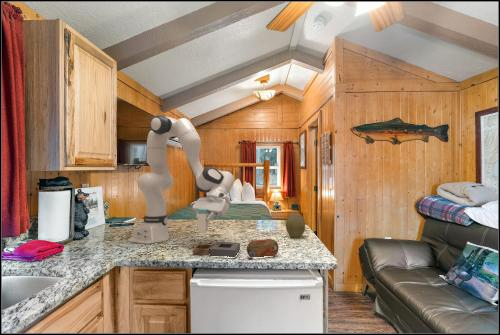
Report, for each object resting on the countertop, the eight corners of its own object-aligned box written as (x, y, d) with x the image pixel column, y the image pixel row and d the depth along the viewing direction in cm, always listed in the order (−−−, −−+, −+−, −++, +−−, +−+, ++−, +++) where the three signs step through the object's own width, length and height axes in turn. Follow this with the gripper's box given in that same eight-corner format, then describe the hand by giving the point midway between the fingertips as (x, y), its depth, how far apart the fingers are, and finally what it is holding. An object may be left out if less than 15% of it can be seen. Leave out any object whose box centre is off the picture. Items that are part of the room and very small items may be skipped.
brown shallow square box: (193, 255, 120) (193, 248, 120) (198, 250, 127) (198, 244, 127) (208, 255, 119) (208, 249, 119) (213, 250, 126) (213, 244, 126)
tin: (247, 260, 113) (247, 241, 113) (245, 258, 116) (245, 239, 116) (278, 257, 117) (278, 238, 117) (276, 254, 120) (276, 237, 120)
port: (209, 257, 116) (209, 248, 116) (216, 249, 128) (216, 241, 128) (235, 259, 115) (235, 250, 115) (240, 250, 126) (240, 242, 126)
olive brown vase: (287, 239, 146) (287, 213, 146) (284, 235, 157) (284, 210, 157) (307, 239, 146) (307, 213, 147) (302, 234, 158) (302, 210, 158)
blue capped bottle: (197, 232, 122) (197, 209, 122) (200, 230, 125) (200, 208, 126) (205, 232, 121) (205, 209, 121) (208, 230, 125) (208, 208, 125)
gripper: (198, 192, 135) (183, 213, 127) (228, 195, 124) (214, 218, 115) (204, 200, 139) (190, 220, 130) (233, 203, 127) (221, 226, 119)
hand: (202, 219), depth 123 cm, fingers closed on blue capped bottle, 5 cm apart
